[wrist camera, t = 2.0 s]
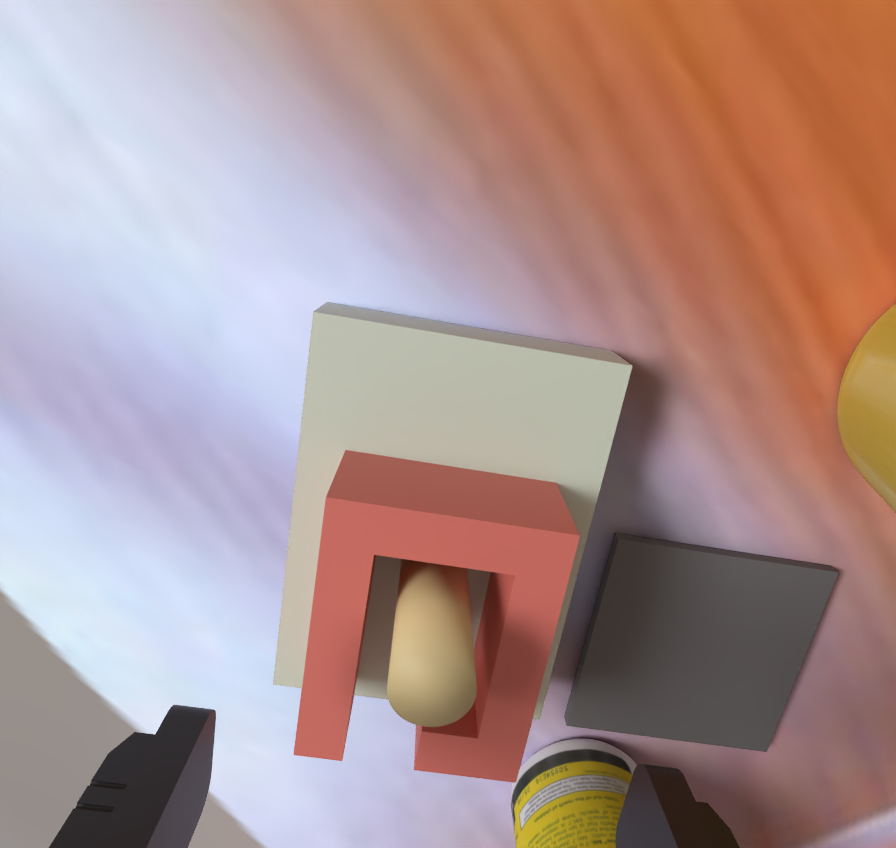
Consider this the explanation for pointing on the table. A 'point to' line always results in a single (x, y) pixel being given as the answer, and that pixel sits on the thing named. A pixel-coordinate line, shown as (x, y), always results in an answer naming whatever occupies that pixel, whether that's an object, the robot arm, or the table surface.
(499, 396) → the stand
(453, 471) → the c link
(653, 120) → the table surface
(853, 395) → the plant pot
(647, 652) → the coaster
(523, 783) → the supplement bottle
